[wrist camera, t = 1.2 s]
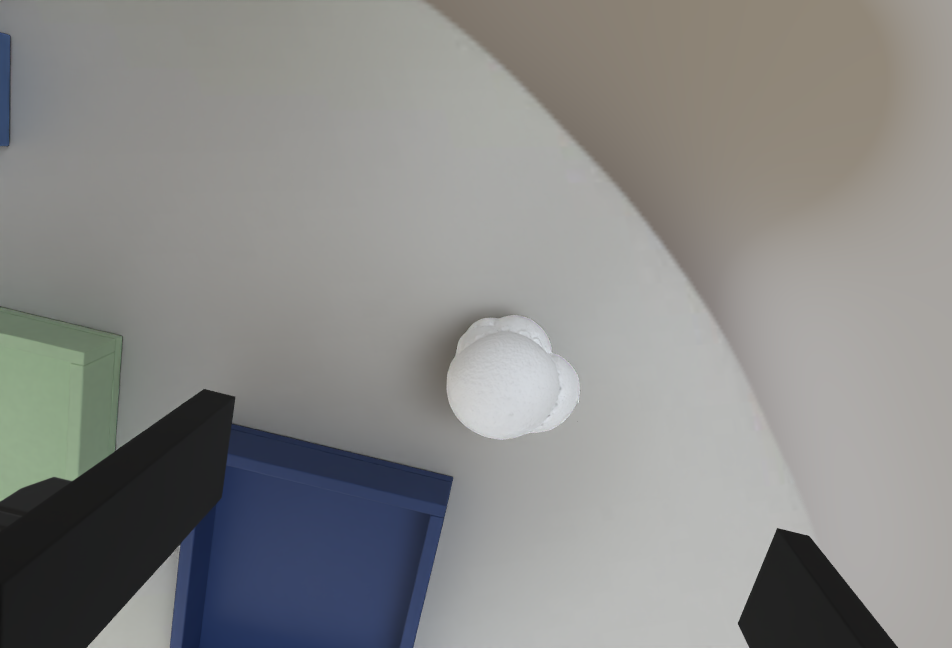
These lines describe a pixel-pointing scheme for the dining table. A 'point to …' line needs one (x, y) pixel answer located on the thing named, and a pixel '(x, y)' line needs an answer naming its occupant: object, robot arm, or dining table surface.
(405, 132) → the dining table surface
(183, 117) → the dining table surface
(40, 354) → the pale tray
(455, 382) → the microfossil shell
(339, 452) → the blue tray
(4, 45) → the blue block
